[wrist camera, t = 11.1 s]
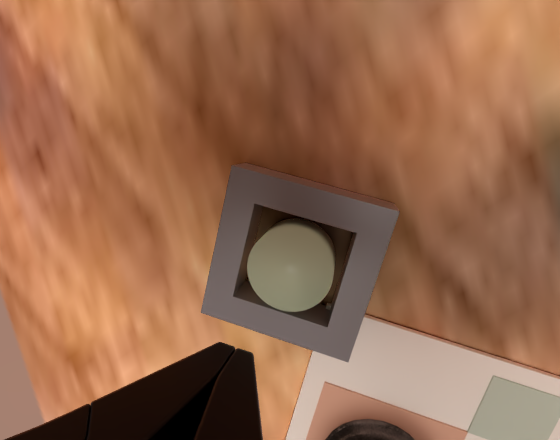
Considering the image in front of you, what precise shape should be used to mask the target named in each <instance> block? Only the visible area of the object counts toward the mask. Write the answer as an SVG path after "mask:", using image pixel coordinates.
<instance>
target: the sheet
mask: <svg viewBox="0 0 560 440" xmlns="http://www.w3.org/2000/svg"><path fill="white" fill-rule="evenodd" d="M326 309H328V310H330V309H331V303H327V306H326ZM361 419H373V420H380V421H385V422H387V423H390V424H393V425H395V426H398V427H399V428H401V429H402V430H404V431H405V432H407V433H408V434H410V435H411V436H412V437H413V439H414V440H560V376H557V375H554V374H551V373H548V372H545V371H541V370H538V369H535V368H532V367H529V366H526V365H523V364H519V363H516V362H513V361H510V360H507V359H504V358H501V357H497V356H494V355H491V354H488V353H485V352H482V351H479V350H475V349H472V348H469V347H466V346H463V345H460V344H457V343H453V342H450V341H447V340H444V339H441V338H438V337H435V336H431V335H428V334H425V333H422V332H419V331H416V330H413V329H409V328H406V327H403V326H400V325H397V324H394V323H391V322H387V321H384V320H381V319H378V318H375V317H372V316H369V315H366V314H365V315H364V318H363V321H362V324H361V327H360V330H359V333H358V336H357V339H356V341H355V344H354V347H353V350H352V353H351V356H350V359H349V362H345V361H342V360H339V359H336V358H333V357H330V356H327V355H324V354H321V353H318V352H315V351H312V354H311V358H310V361H309V364H308V367H307V371H306V374H305V377H304V380H303V384H302V387H301V390H300V393H299V397H298V400H297V403H296V406H295V410H294V413H293V416H292V419H291V422H290V426H289V429H288V432H287V435H286V439H285V440H325V439H326V438H327V437H328V436H329V435H330V433H331V432H332V431H333V430H334V429H336V428H337V427H339V426H340V425H342V424H344V423H347V422H350V421H353V420H361Z"/></svg>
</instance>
